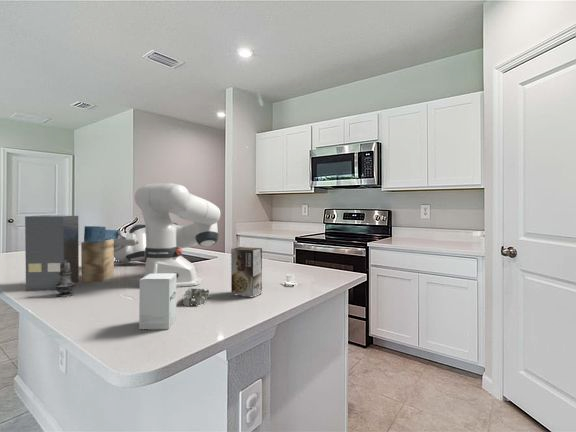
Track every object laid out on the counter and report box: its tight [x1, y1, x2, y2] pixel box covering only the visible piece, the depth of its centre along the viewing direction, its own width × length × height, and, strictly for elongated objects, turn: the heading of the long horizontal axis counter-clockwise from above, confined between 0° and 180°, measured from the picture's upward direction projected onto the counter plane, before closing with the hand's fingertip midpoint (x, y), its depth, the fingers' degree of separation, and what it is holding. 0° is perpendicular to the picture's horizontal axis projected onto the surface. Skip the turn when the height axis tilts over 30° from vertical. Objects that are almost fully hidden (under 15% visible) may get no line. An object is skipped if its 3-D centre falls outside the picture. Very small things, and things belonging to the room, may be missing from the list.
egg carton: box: [181, 287, 210, 306], centre depth 105 cm, size 10×7×4 cm
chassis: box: [24, 214, 80, 292], centre depth 121 cm, size 12×12×26 cm
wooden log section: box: [80, 239, 115, 283], centre depth 135 cm, size 8×12×16 cm, turn 11°
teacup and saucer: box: [284, 273, 296, 286], centre depth 130 cm, size 9×8×4 cm
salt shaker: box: [55, 260, 77, 298], centre depth 110 cm, size 6×6×12 cm
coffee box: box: [230, 246, 263, 297], centre depth 114 cm, size 9×6×16 cm
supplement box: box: [138, 273, 177, 331], centre depth 84 cm, size 7×7×13 cm
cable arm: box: [83, 225, 119, 242], centre depth 137 cm, size 6×22×5 cm
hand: (108, 232), depth 146 cm, fingers open, 8 cm apart
